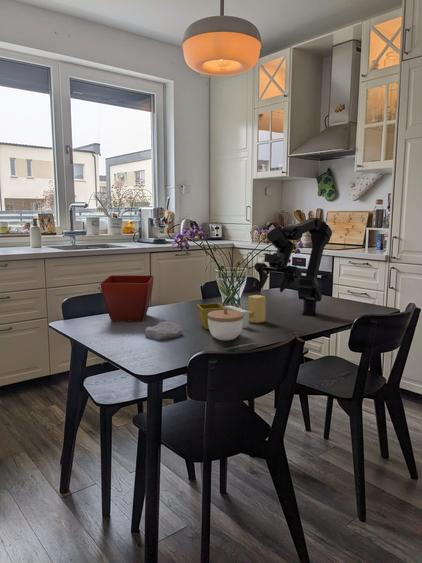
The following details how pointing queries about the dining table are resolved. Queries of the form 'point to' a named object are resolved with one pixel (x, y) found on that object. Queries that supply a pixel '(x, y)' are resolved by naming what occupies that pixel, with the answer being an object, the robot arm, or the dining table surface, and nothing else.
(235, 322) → the lidded bowl
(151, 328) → the stone block
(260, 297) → the block
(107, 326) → the dining table surface
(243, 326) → the wall
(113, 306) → the plant pot
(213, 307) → the flower pot
